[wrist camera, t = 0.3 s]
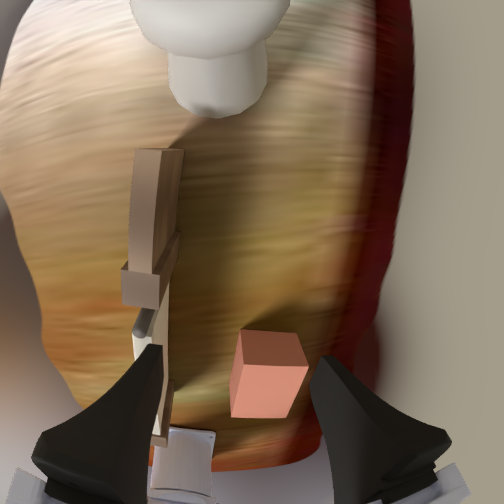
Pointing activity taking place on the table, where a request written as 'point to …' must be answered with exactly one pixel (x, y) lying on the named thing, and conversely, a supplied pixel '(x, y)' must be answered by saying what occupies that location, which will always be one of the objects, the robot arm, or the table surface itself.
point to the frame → (152, 245)
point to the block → (266, 374)
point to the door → (158, 336)
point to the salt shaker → (212, 49)
